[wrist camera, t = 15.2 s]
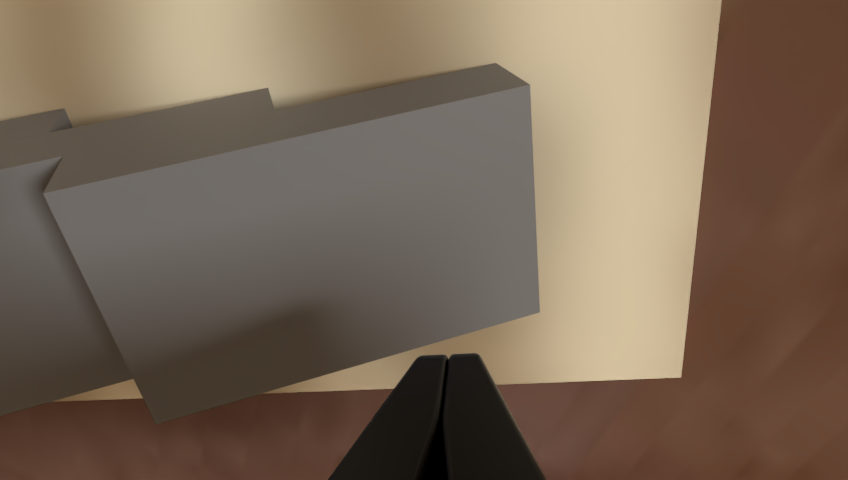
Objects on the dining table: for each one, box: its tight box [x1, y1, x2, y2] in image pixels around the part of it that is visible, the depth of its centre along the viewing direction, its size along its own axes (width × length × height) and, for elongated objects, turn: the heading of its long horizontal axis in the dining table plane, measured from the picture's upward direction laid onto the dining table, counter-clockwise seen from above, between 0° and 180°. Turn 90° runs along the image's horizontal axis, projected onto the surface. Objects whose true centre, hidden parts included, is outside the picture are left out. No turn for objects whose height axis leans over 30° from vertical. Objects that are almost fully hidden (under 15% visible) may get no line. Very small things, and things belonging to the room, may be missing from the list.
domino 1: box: [0, 88, 275, 416], centre depth 13 cm, size 2×5×8 cm
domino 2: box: [43, 63, 540, 424], centre depth 12 cm, size 2×5×8 cm
